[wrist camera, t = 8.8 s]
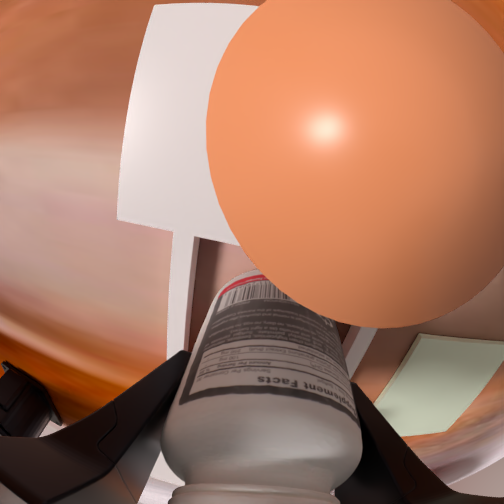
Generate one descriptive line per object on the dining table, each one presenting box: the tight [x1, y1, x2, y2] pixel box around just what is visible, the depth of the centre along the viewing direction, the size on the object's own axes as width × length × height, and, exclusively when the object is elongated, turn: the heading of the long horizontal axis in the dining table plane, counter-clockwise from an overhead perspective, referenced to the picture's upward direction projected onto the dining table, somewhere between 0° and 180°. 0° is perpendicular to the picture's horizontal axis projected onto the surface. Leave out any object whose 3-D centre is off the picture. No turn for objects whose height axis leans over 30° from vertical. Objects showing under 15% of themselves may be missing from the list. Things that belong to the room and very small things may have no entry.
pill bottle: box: [160, 269, 362, 504], centre depth 8 cm, size 5×5×10 cm
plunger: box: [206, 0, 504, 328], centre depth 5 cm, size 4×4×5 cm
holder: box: [117, 3, 378, 486], centre depth 10 cm, size 20×9×5 cm, turn 169°
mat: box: [374, 333, 504, 436], centre depth 13 cm, size 9×9×1 cm
